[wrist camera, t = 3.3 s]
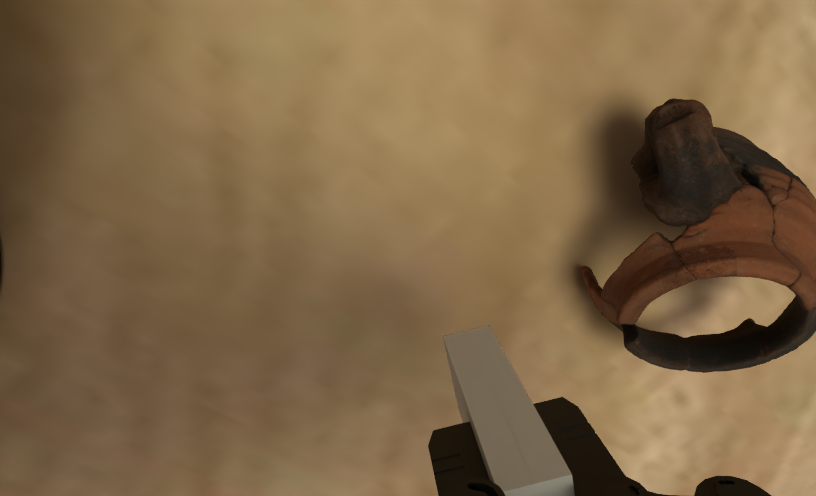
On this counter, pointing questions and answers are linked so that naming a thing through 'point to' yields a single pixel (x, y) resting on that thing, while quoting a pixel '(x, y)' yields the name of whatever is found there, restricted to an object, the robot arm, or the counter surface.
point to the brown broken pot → (713, 241)
